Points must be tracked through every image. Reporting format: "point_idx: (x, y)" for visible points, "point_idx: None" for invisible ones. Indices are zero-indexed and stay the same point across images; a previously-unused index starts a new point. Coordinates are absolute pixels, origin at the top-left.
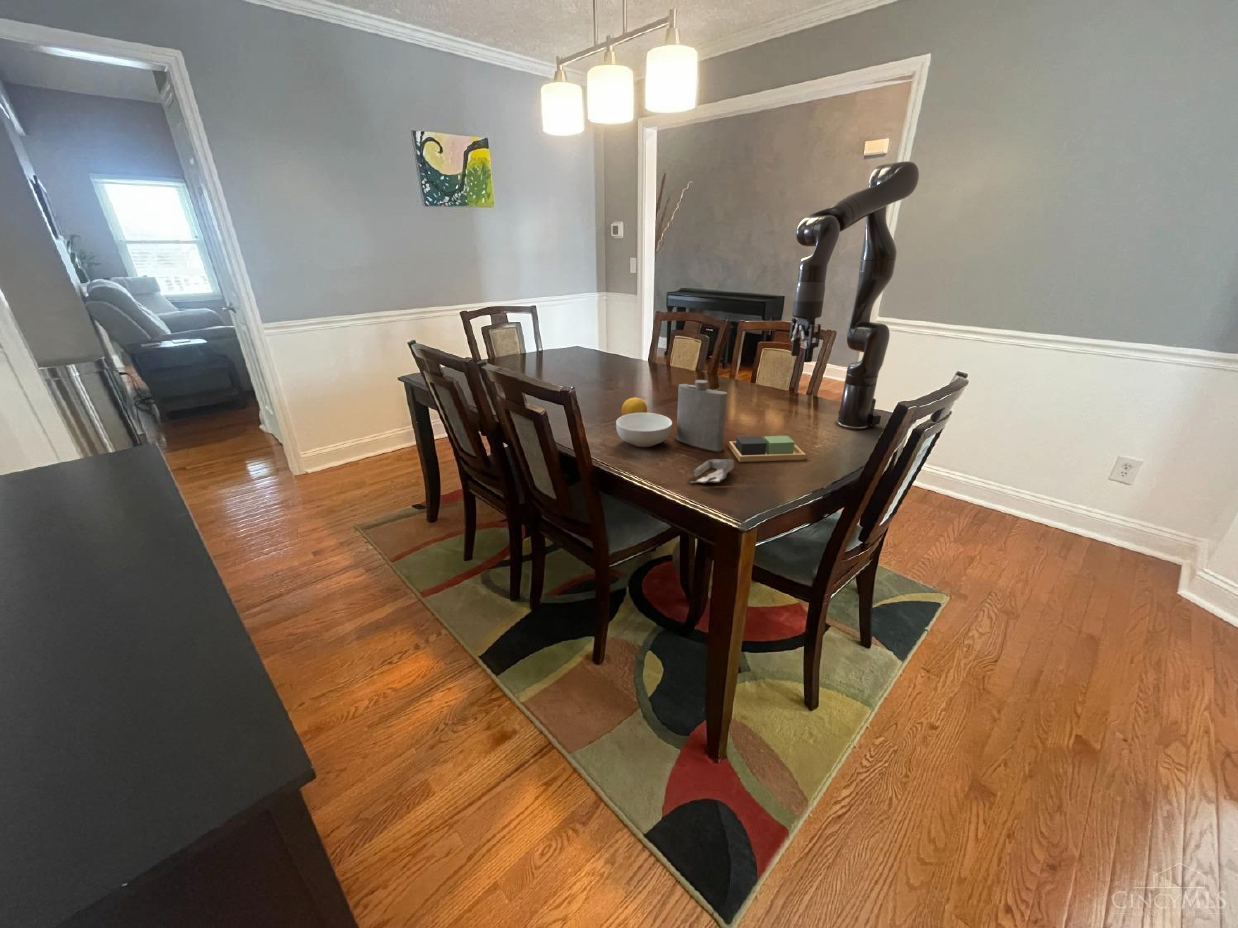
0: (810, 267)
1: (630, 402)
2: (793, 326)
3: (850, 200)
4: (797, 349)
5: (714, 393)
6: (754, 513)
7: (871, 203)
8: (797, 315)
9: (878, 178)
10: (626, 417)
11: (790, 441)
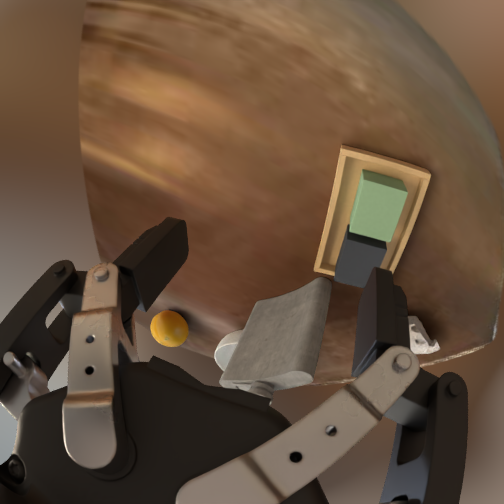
0: None
1: (171, 345)
2: (45, 373)
3: None
4: (163, 256)
5: (300, 385)
6: (492, 328)
7: None
8: None
9: None
10: (225, 367)
11: (399, 198)
